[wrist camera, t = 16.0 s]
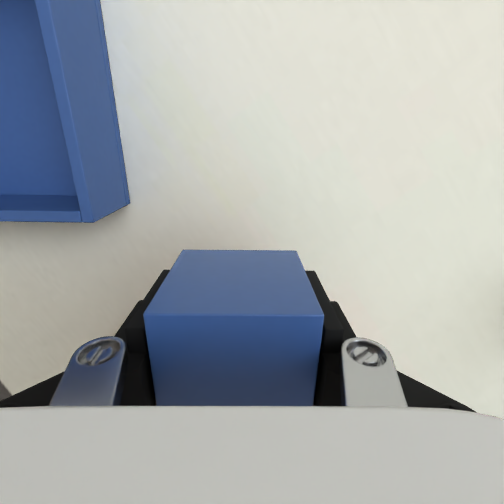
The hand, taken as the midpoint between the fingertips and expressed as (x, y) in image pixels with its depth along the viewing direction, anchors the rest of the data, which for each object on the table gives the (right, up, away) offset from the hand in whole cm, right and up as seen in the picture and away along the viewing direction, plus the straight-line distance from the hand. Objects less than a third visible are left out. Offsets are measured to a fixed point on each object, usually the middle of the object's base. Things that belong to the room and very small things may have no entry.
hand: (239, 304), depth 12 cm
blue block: (0, 0, 0) cm, 0 cm away
